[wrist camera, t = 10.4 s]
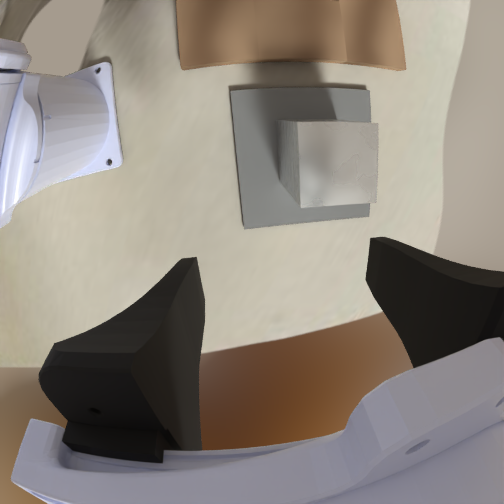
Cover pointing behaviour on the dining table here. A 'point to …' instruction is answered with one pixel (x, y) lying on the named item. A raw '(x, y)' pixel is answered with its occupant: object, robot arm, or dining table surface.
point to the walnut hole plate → (290, 32)
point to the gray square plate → (266, 149)
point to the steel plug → (328, 161)
